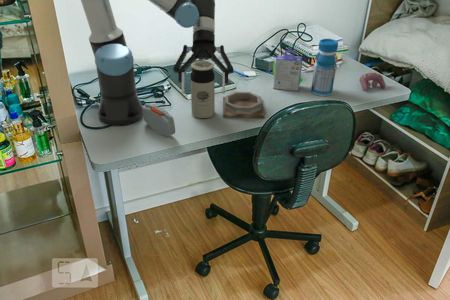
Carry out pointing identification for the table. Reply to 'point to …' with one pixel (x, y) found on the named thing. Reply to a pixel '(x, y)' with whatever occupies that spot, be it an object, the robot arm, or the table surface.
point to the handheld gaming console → (158, 120)
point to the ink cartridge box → (287, 71)
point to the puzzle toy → (274, 67)
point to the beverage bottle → (325, 68)
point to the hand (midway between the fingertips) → (203, 92)
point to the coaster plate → (242, 105)
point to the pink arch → (375, 79)
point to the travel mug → (202, 89)
